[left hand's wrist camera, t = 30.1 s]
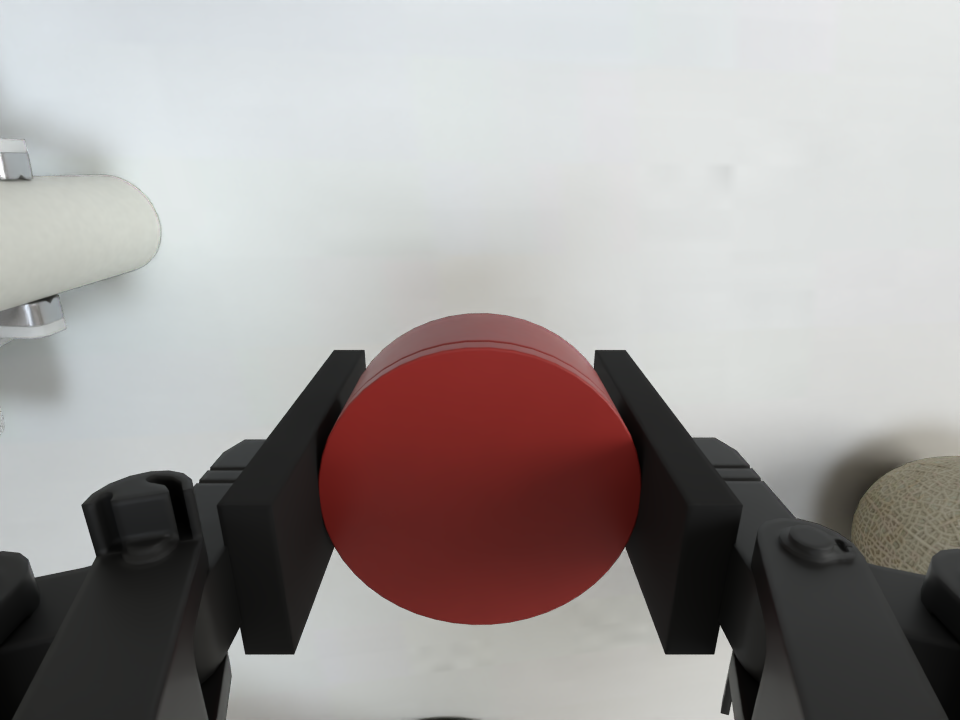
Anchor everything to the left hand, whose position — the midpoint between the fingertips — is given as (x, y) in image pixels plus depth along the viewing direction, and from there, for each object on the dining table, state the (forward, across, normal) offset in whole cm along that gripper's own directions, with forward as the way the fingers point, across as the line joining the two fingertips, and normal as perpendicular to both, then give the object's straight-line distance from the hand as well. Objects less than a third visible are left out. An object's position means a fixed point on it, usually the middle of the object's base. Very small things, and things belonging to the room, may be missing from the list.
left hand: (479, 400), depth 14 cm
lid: (-4, 0, 0) cm, 4 cm away
